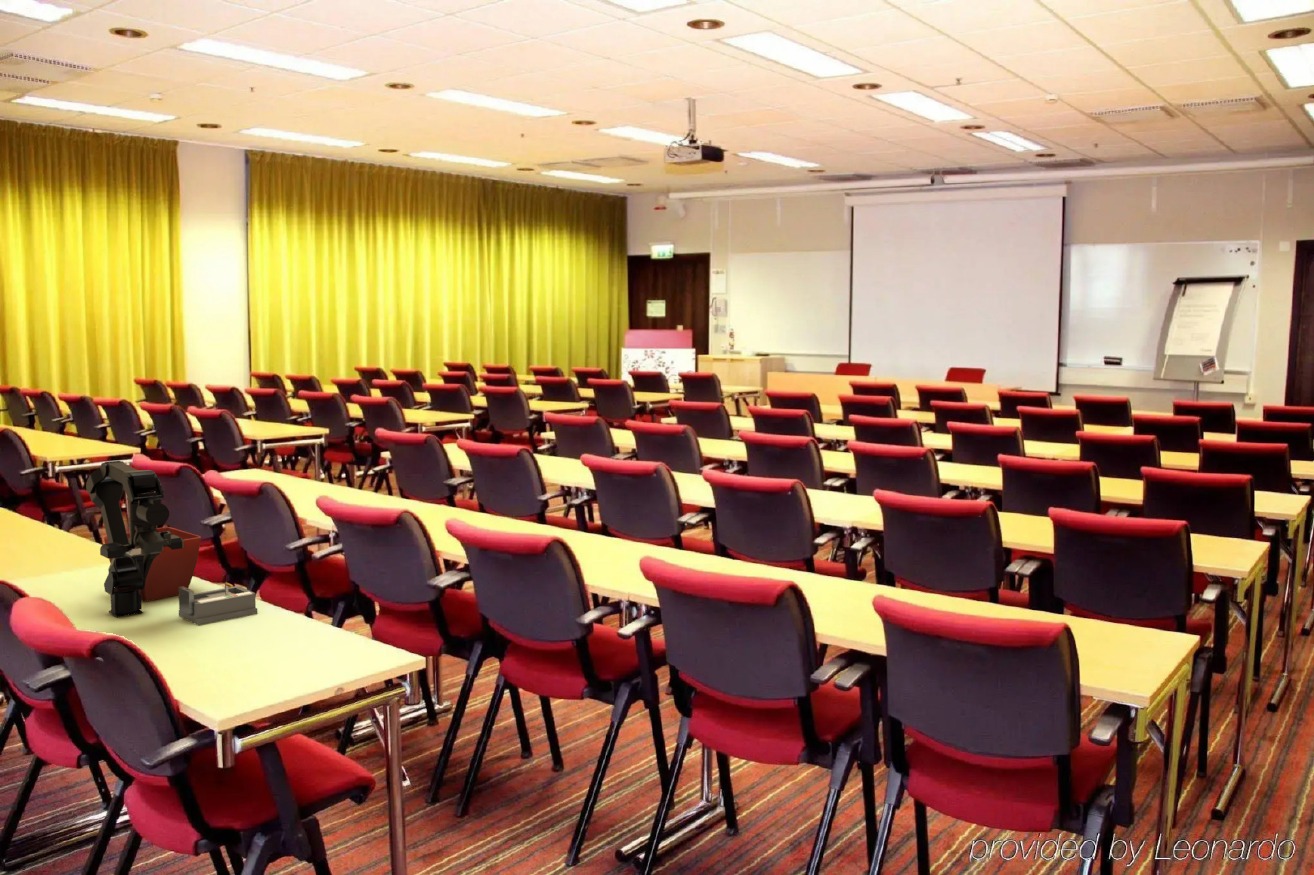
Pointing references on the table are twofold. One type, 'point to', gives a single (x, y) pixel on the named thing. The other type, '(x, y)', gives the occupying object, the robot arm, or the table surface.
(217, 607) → the gauge frame
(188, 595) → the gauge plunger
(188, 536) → the plant pot
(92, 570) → the table surface
